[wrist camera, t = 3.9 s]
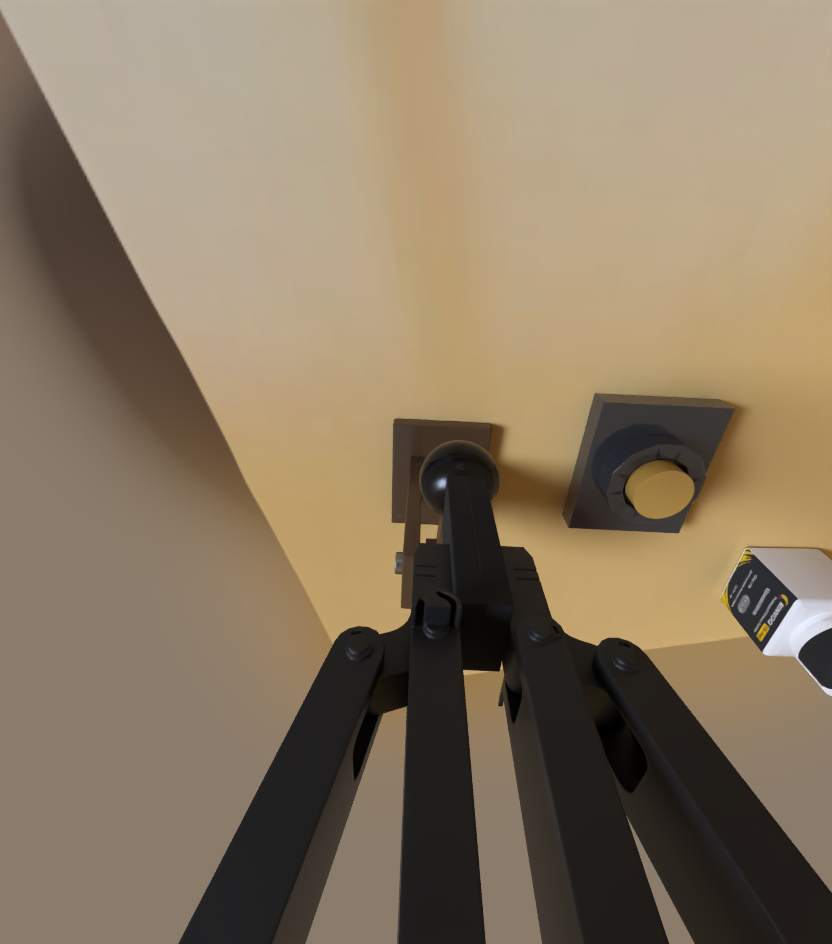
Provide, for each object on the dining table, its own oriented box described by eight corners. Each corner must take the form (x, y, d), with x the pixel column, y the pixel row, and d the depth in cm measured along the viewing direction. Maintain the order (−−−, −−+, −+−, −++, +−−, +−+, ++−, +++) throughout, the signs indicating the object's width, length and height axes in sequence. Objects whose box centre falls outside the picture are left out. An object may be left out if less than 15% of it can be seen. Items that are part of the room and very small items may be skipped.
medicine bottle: (743, 545, 41) (851, 653, 31) (818, 546, 41) (951, 655, 30) (717, 597, 45) (805, 710, 34) (785, 599, 44) (894, 712, 34)
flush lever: (422, 421, 19) (419, 490, 17) (503, 425, 19) (510, 494, 17) (414, 547, 29) (412, 598, 27) (465, 549, 29) (467, 600, 27)
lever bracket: (394, 418, 35) (376, 516, 23) (489, 422, 35) (521, 523, 23) (392, 515, 40) (377, 636, 28) (476, 519, 40) (496, 642, 28)
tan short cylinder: (634, 458, 32) (644, 469, 31) (691, 460, 32) (703, 472, 31) (618, 505, 35) (626, 517, 33) (671, 507, 35) (682, 520, 33)
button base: (594, 393, 34) (613, 412, 30) (719, 399, 34) (752, 419, 30) (562, 515, 40) (574, 542, 36) (667, 520, 40) (690, 548, 36)
